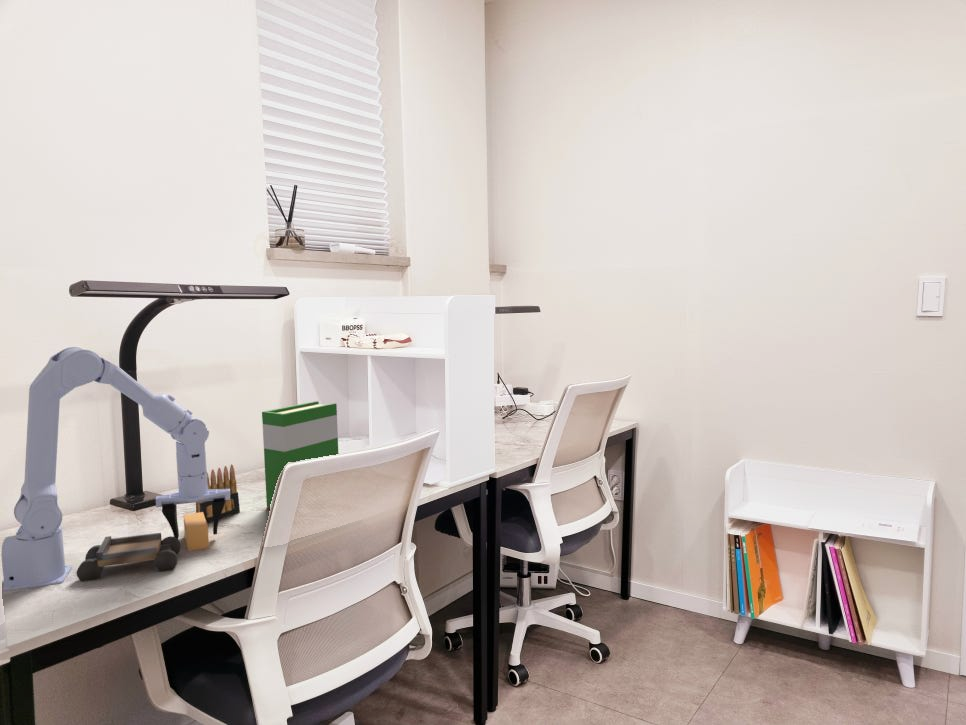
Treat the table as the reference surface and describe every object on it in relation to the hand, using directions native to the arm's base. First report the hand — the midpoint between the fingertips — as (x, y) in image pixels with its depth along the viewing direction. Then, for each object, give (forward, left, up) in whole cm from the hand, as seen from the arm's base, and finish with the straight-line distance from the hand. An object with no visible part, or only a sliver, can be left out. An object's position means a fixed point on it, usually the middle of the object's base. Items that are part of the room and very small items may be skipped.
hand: (196, 535), depth 150 cm
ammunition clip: (+4, +15, -2) cm, 16 cm away
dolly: (-11, -11, -1) cm, 16 cm away
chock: (0, 0, -2) cm, 2 cm away
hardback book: (+24, +21, -2) cm, 32 cm away
